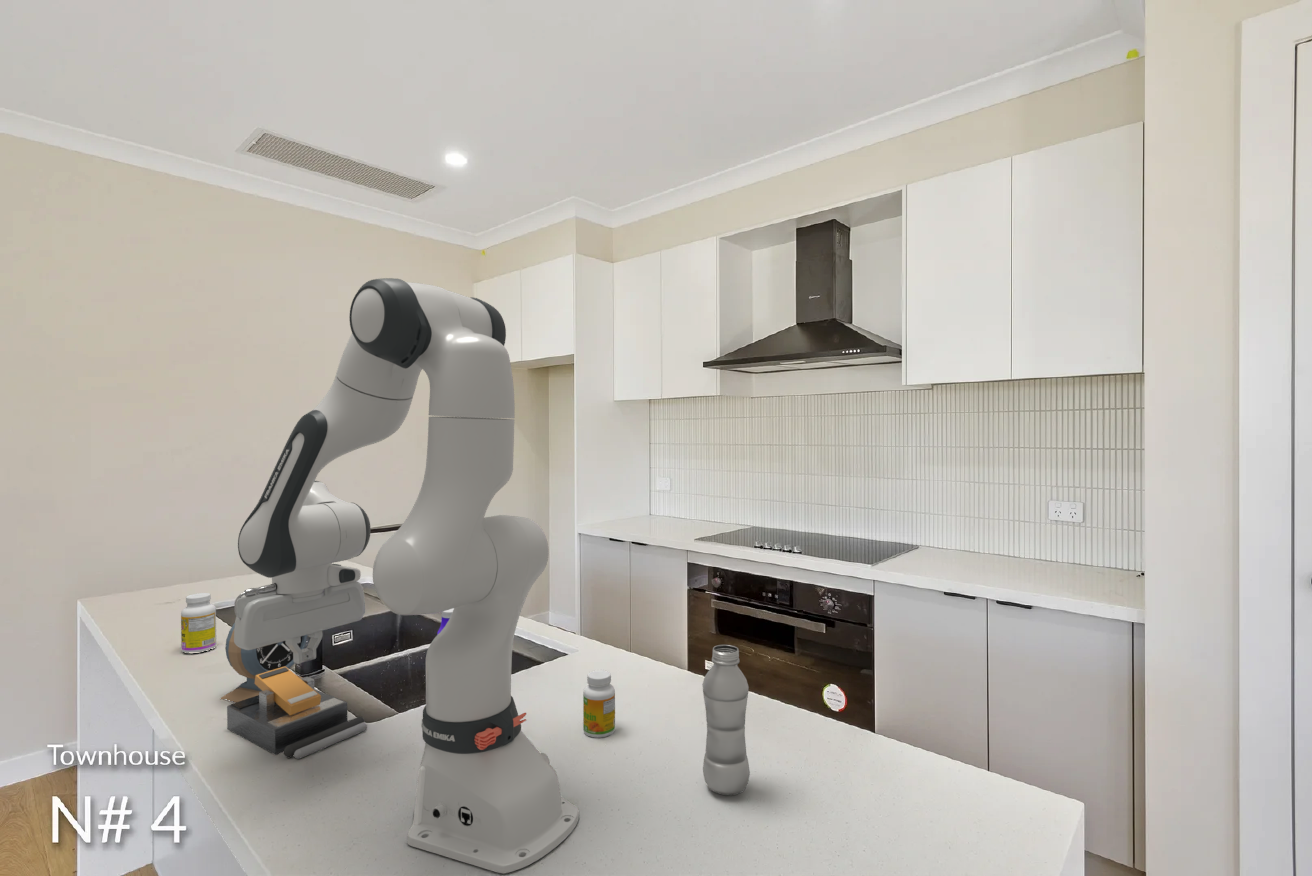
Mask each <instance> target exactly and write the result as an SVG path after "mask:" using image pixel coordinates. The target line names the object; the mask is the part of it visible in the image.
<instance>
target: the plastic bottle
mask: <svg viewBox="0 0 1312 876" xmlns="http://www.w3.org/2000/svg"><path fill="white" fill-rule="evenodd" d="M739 657H740V650H739V647H737V646H736V645H731V644H718V645H715V646H713V647H712V657H711V663H712V664H713V665H712V666H711V667H710V668H709V669H708V671H707V673H706V674H705V676H704V677H703V681H702V693H703V694H702V695H703V700H704V701H703V702H704V707H705V716H706V717H705V718H706V719H705V721H706V740H705V741H706V742H705V753H704V757H703V764H702V765H703V766H702V773H703V778H704V782H705V784H706V786H707V787H708V789H709V790H711V791H713V792H714V793H716V794H717V795H718V794H719V795H724V796H735V795H738V794H741V793H743V792H744V790H745V789H746V787H748V785H749V781H750V780H749V779H750V773H751V771H750V764H749V763H750V762H749V758H748V756H747V746H746V713H747V705H748V698H749V688H750V687H749V684H748V680H747V678H746V676H745V675H744V673H743V672H742V670H741V669H740V667H739V666H738V664H740V658H739Z"/></svg>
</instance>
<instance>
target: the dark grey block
mask: <svg viewBox="0 0 1312 876" xmlns="http://www.w3.org/2000/svg"><path fill="white" fill-rule="evenodd" d="M301 680H303V681H304V682H305V683H306V684H307V685H309V686H310V687H311V688H312V689H313V690H315V691H316V692H317V693H318V694H320V695H321V701H320V705H317V706H314V707H312V708H309V709H306V710H303V711H301V712H298V713H295V714H293V715H289V714H288V713H287V712H286V711H285V710H283V709H282V708H281V707H280V706H279V705H278V704H277V703H276V702H274V693H273V692H271V691H269V690H264V691H261V692H259V695H257V696H254V697H251V698H248V699H245V700H242V701H239V702H232V703H230V704H228V705H227V706H226V716H227V719H226V722H227V723H226V728H227V730H228V731H230V732H232V733H234V734H236V735H238V736H240V737H241V738H244V739H245V740H247V741H249V742H250V743H252V744H254V745H256V746H258V747H260V748H262V749H263V750H266V751H267V752H270V753H272V754H273V755H274V756H276V755H278V754H281V753H284V749H285V748H286V747H287V746H288V745H290V744H293V743H295V742H298V741H300V740H303V739H305V738H308V737H310V736H312V735H315V734H317V733H320V732H322V731H325V730H327V729H330V728H332V727H335V726H337V725H340V724H342V723H345V722H347V721H349V720H348V714H349V713H348V701H345V700H342V699H340V698H338V697H335V696H333V695H330V694H328V693H326V692H323V691H320V690H318V689H315V679H314V678H311V677H309V676H303V678H301Z"/></svg>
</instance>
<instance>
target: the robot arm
mask: <svg viewBox="0 0 1312 876" xmlns="http://www.w3.org/2000/svg"><path fill="white" fill-rule="evenodd" d="M501 314H502V313H500V312H499V310H497V308H495V307H494V306H493V305H491V304H490V303H488V302H486V301H484V300H482V299H479V298H477V297H469V296H467V295H464V294H461V293H458V292H455V291H452V290H447V289H446V288H445V287H444V288H443V287H442V286H438V285H433V284H427V283H421V282H414V281H413V282H410V281H405V280H403V279H401V278H393V277H389V278H387V277H385V278H382V277H381V278H375V279H371V280H368V281H367V282H365V283H364V284H362V285H361V287H359V289H358V290H357V291H356V294H355V295H354V297H353V299H352V302H351V305H350V308H349V326H350V330H351V334H350V337H349V339H348V340H347V343H346V346H345V347H344V350H343V352H342V355H341V357H340V361H339V364H338V366H337V370H336V372H335V377H334V380H333V382H332V384H331V386H330V388H329V389H328V391H327V393H326V394H325V395H324V397H323V398H322V399H321V401H320V402H319V403H318V404H317V405H316V406H315V407H314V408H313V409H312V410H311V411H309V412H307V413H305V414H304V415H303V416H301V417H300V418H299V420H298V421H297V423H296V424H295V426H294V428H293V429H292V431H291V433H290V435H289V437H288V438H287V440H286V443H285V445H284V447H283V449H282V451H281V453H280V455H279V457H278V460H277V462H276V463H275V466H274V468H273V471H272V472H271V475H270V477H269V479H268V481H267V483H266V486H265V488H264V490H263V492H262V494H261V496H260V498H259V500H258V502H257V504H256V505H255V507H254V509H253V510H252V511H251V513H250V514H249V516H248V517H247V518H246V520H245V521H244V522H243V524H242V526H241V528H240V531H239V533H238V539H237V549H238V551H237V552H238V555H239V558H240V560H241V561H242V563H243V564H244V565H245V566H246V567H247V568H249V569H250V570H252V571H253V572H255V573H256V574H259V575H260V576H263V577H266V578H268V579H269V578H270V579H271V583H269V584H266V585H262V586H258V587H251V588H246V589H245V590H244V591H243V592H241V593H240V594H239V595H238V596H237V597H236V599H235V600H234V605H233V606H234V614H235V620H234V621H235V622H234V623H235V628H234V643H235V644H236V645H237V646H238V647H239V648H242V649H245V650H252V649H256V648H260V647H263V646H267V645H271V644H274V643H278V642H282V641H286V645H287V646H288V647H289V648H290V650H291V651H292V652H293V661H294V663H295V664H297V665H299V664H301V663H305V662H309V661H312V660H315V659H316V658H317V649H318V647H319V645H320V643H321V640H322V639H323V631H326V630H328V629H333V628H336V627H339V626H340V627H341V626H343V625H349V624H350V623H352V624H353V623H355V622H359V621H361V620H362V618H363V617H364V616H365V613H366V602H365V599H366V598H365V593H364V586H363V585H362V584H361V583H360V581H359V580H360V579H361V575H362V574H361V573H362V572H361V570H360V569H359V568H357V567H352V566H347V565H342V564H339V562H344V561H347V560H351V559H354V558H356V557H359V556H360V555H362V553H363V552H364V551H365V550H366V548H367V547H368V544H369V541H370V538H371V530H372V529H371V521H370V518H369V516H368V514H367V513H366V511H365V509H363V508H362V507H361V505H359V504H357V503H355V502H349V501H346V500H344V499H342V498H339V497H338V496H336V495H334V494H333V493H332V492H331V491H330V490H329V488H328V485H327V484H326V483H324V482H323V481H318V480H316V479H317V477H318V476H319V473H320V472H321V471H322V470H323V469H324V468H325V467H326V466H327V465H328V464H330V463H331V462H333V461H334V460H336V459H338V458H339V457H342V456H344V455H346V454H349V453H351V452H353V451H356V450H358V449H362V448H364V447H367V446H371V445H374V444H377V443H379V442H382V441H383V440H386V439H387V438H389V437H391V436H392V435H394V434H395V433H397V431H398V430H399V429H400V428H401V426H402V425H403V423H404V421H405V420H406V418H407V417H408V413H409V411H410V408H411V405H412V402H413V398H414V395H415V391H416V388H417V384H418V381H419V376H420V374H421V372H422V370H423V371H424V372H425V374H426V375H427V378H428V381H429V382H428V383H429V400H428V401H429V402H428V423H427V425H428V428H427V430H428V431H427V448H426V461H425V468H424V476H423V479H422V480H423V481H422V482H421V488H420V490H419V493H418V495H417V498H416V500H415V502H414V504H413V506H412V508H411V510H410V513H409V514H408V516H407V517H406V519H405V520H404V521H403V523H402V524H401V526H400V527H399V528H398V529H397V531H395V532H394V534H392V535H391V537H389V538H388V539H387V540H385V542H384V543H383V544H382V545H381V546H380V548H379V550H378V552H377V554H376V556H375V559H374V563H373V567H372V583H373V587H374V590H375V593H376V595H377V597H378V599H379V600H380V601H381V602H382V604H383V606H385V608H387V609H388V610H389V611H390V612H392V613H393V614H396V615H400V616H413V615H414V616H418V615H420V616H421V615H430V614H431V615H432V614H434V615H435V614H439V613H442V612H443V611H446V610H449V609H453V608H454V610H453V612H452V615H451V617H450V619H449V621H448V622H447V624H446V626H445V627H444V628H443V630H442V631H441V632H440V633H439V634H438V635H436V636H435V637H434V638H433V640H432V641H431V643H430V644H429V647H428V648H427V651H426V654H425V655H426V657H425V706H424V707H423V710H422V718H421V729H422V730H421V731H422V735H421V736H422V737H421V738H422V740H423V741H424V742H425V743H424V750H423V753H422V758H421V762H420V765H419V768H418V772H417V781H416V791H415V803H414V812H413V815H412V821H413V822H412V824H411V826H410V828H409V830H408V832H407V838H406V844H407V845H409V846H411V847H414V848H417V849H420V850H423V851H427V852H430V853H433V854H435V855H436V854H437V855H440V856H443V857H446V858H449V859H453V860H454V861H455V860H456V861H459V862H462V863H466V864H468V865H472V866H476V867H478V868H481V869H485V870H488V871H491V872H495V873H499V874H508V873H511V872H515V871H517V870H520V869H523V868H525V867H527V866H529V865H531V864H534V863H535V862H537V861H538V860H540V859H541V858H543V857H545V856H546V855H548V854H549V853H550V852H551V851H552V850H555V849H556V847H558V846H559V845H560V844H561V843H562V842H563V841H564V840H566V838H568V837H569V835H571V833H572V832H573V831H574V830H575V828H576V826H577V824H578V822H579V819H580V811H579V809H580V808H579V807H578V806H577V805H575V804H574V803H573V802H570V801H569V800H568V799H566V798H565V797H563V796H562V795H561V788H560V782H559V778H558V774H557V771H556V770H555V768H554V767H553V766H552V765H551V764H550V759H549V756H548V754H546V753H544V752H540V751H539V749H538V748H536V746H535V745H534V744H533V743H532V742H531V740H530V739H529V738H528V737H527V736H526V734H525V732H523V730H522V724H523V723H524V722H526V721H527V718H524V717H526V715H527V712H523V713H521V714H519V712H518V709H517V705H516V702H515V700H514V697H513V696H512V658H513V657H512V656H513V645H514V640H515V639H514V637H515V634H516V629H517V625H518V622H519V619H520V615H521V613H522V609H523V608H524V607H523V606H524V604H525V601H526V599H527V597H528V595H529V592H530V591H531V589H532V588H533V585H534V584H535V583H536V581H537V580H538V579H539V577H540V576H541V575H542V574H543V572H544V571H545V569H546V567H547V565H548V560H549V555H550V554H549V553H550V552H549V543H548V539H547V535H546V534H545V532H544V531H543V529H542V528H541V526H540V525H539V523H537V522H536V521H535V520H533V519H531V518H529V517H523V516H515V515H507V514H499V515H491V516H486V517H485V515H486V513H487V510H488V508H489V506H490V504H491V502H492V500H493V499H494V497H495V495H496V494H497V493H498V492H499V491H500V490H501V489H503V487H504V486H506V484H508V482H509V481H510V479H511V478H512V475H513V472H514V471H513V470H514V446H515V445H514V444H515V443H514V442H515V415H516V414H515V413H516V412H515V408H516V407H515V406H516V405H515V404H516V403H515V389H514V377H513V370H512V365H511V359H510V354H509V352H508V350H507V348H506V347H505V344H506V340H507V338H506V337H507V328H506V323H505V320H504V319H503V318H504V317H503V316H502V315H501ZM304 635H307V637H308V638H310V639H309V641H308V644H307V646H306V648H305V647H304V649H302V650H301V649H300V647H299V646H298V645H297V643H300V642H301V636H304Z"/></svg>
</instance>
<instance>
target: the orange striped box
mask: <svg viewBox="0 0 1312 876" xmlns="http://www.w3.org/2000/svg"><path fill="white" fill-rule="evenodd" d="M298 676H299V675H297V674H295V673H294V672H293V671H291V669H290V668H289V669H288V668H287V667H285V666H284V667H281V668H278V669H274V670H271V671H268V672H264V673H261V674H258V675H255V685H257V686H258V687H259V688H260V689H261V690H262V691H264V690H269V691H271V692H273V693H274V702H276V703H277V704H278V705H279V706H280V707H281V708H282V709H283V710H285V711H286V712H287V713H288V714H289V715H293V714H295V713H298V712H301V711H303V710H306V709H309V708H312V707H314V706H317V705H320V701H321V695H320V694H318V693H317V692H316V691H315V690H313V689H312V688H311V687H310V686H309V685H307V684H306V683H305V682H304V681H303V680H301V679H300V678H299V677H298Z"/></svg>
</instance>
